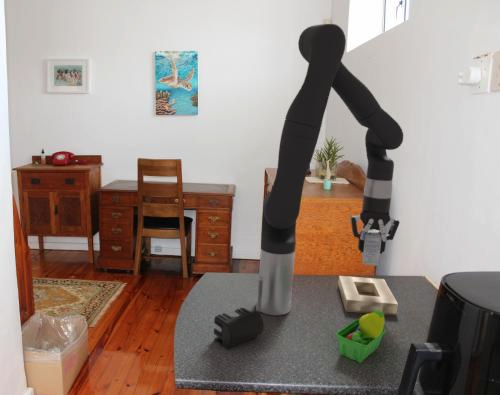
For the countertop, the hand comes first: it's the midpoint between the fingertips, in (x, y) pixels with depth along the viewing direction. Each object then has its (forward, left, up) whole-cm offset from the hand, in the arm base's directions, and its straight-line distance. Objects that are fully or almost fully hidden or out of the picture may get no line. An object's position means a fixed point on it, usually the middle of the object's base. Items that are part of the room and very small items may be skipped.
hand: (370, 251), depth 132 cm
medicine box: (0, 0, -3) cm, 3 cm away
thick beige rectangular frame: (0, 0, -15) cm, 15 cm away
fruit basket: (-6, -30, -15) cm, 34 cm away
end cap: (-35, -30, -15) cm, 48 cm away
